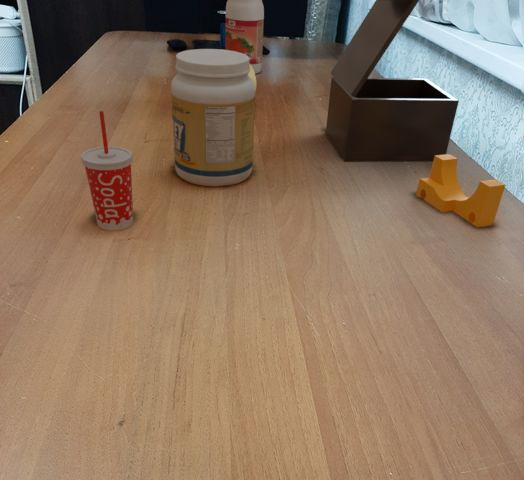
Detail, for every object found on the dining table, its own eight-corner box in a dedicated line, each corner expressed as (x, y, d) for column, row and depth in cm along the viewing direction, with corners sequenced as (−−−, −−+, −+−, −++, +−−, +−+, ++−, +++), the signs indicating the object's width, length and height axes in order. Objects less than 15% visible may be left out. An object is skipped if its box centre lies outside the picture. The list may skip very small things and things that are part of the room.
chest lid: (399, -29, 94) (376, -49, 92) (432, -20, 82) (407, -42, 80) (333, 75, 102) (311, 59, 100) (354, 97, 91) (330, 80, 89)
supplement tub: (167, 164, 92) (159, 48, 82) (238, 157, 96) (239, 46, 86) (186, 193, 83) (181, 67, 73) (264, 184, 87) (269, 63, 77)
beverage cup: (84, 230, 73) (65, 116, 64) (101, 211, 77) (85, 102, 69) (130, 235, 72) (117, 121, 64) (145, 215, 77) (135, 106, 68)
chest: (415, 133, 111) (426, 78, 105) (444, 161, 99) (459, 100, 93) (325, 133, 109) (331, 77, 102) (344, 161, 97) (352, 99, 91)
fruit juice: (269, 72, 147) (275, -61, 130) (241, 76, 142) (244, -61, 125) (245, 65, 153) (248, -64, 136) (218, 69, 148) (217, -64, 130)
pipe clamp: (415, 199, 85) (424, 156, 81) (439, 196, 86) (449, 153, 83) (465, 234, 76) (478, 188, 72) (491, 230, 78) (505, 184, 74)
